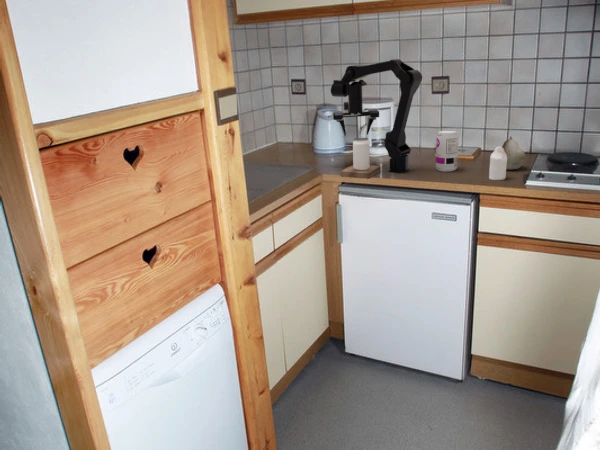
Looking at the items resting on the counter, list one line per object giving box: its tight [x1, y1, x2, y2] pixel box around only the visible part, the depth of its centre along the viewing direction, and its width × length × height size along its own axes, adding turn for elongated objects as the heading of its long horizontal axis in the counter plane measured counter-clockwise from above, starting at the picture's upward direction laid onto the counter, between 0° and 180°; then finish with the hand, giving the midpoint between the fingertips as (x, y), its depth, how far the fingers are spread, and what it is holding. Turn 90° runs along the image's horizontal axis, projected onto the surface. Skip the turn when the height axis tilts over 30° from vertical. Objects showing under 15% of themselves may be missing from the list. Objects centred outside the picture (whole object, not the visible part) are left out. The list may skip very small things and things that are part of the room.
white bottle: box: [488, 145, 507, 181], centre depth 198 cm, size 6×12×6 cm
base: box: [340, 164, 381, 179], centre depth 218 cm, size 12×12×2 cm
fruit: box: [501, 136, 526, 171], centre depth 210 cm, size 10×9×12 cm
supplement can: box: [435, 129, 459, 173], centre depth 214 cm, size 8×8×15 cm
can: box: [352, 137, 371, 171], centre depth 215 cm, size 6×6×12 cm
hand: (356, 135), depth 227 cm, fingers open, 9 cm apart
